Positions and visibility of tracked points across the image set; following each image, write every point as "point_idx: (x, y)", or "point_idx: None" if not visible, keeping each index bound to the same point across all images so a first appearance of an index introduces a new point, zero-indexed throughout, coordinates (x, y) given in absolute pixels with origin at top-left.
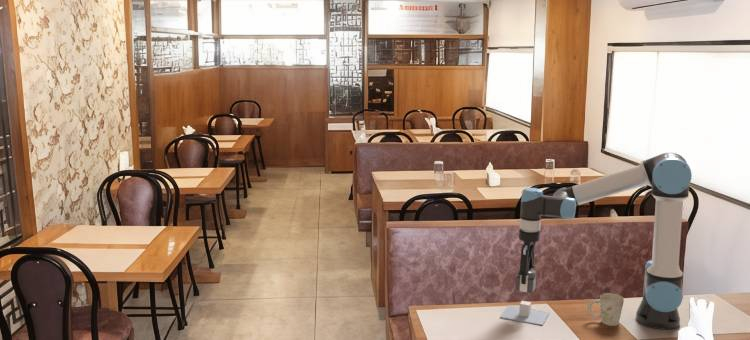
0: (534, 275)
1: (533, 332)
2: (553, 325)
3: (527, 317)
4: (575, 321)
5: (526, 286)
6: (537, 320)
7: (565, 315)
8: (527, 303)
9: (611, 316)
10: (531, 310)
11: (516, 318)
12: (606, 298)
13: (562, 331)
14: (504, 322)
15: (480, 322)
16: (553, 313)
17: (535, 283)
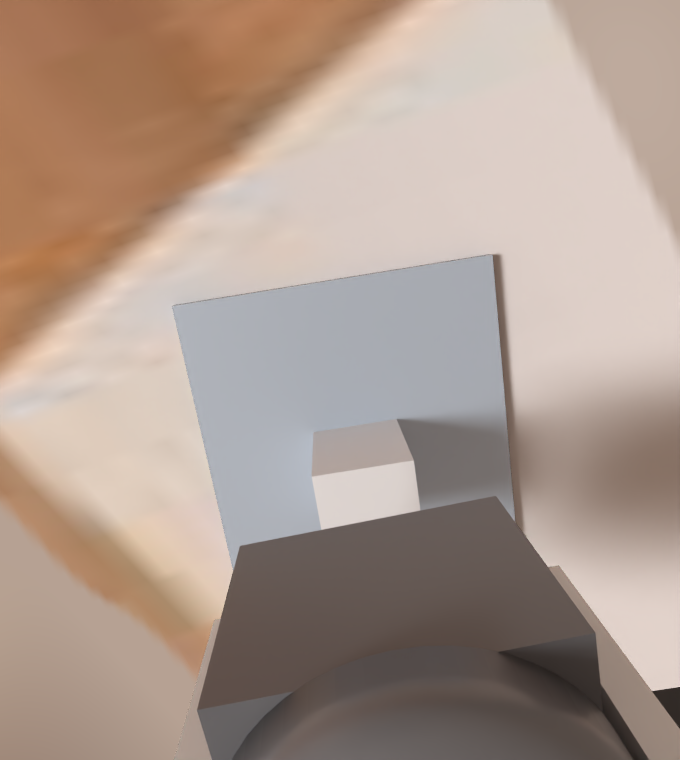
0: (531, 726)
1: (667, 271)
2: (428, 172)
3: (412, 423)
4: (206, 9)
5: (605, 636)
6: (426, 328)
7: (124, 153)
8: (368, 495)
9: None
10: (240, 452)
11: (483, 487)
12: None
13: (519, 46)
14: (584, 533)
15: (670, 663)
16: (155, 271)
17: (266, 583)
